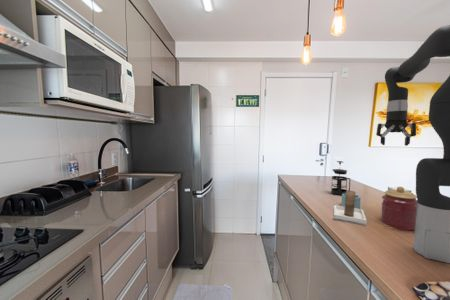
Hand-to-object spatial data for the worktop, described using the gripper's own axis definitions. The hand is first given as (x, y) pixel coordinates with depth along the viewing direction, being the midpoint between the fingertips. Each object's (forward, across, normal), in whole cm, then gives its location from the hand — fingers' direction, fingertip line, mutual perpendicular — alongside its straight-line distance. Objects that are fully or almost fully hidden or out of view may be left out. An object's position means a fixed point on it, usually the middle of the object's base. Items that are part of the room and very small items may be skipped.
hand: (394, 145), depth 97 cm
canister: (+36, +2, -6) cm, 37 cm away
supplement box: (+36, +6, +14) cm, 39 cm away
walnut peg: (+35, -18, -7) cm, 40 cm away
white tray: (+36, -18, -7) cm, 41 cm away
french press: (+36, -21, +34) cm, 54 cm away
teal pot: (+36, -16, +8) cm, 40 cm away
